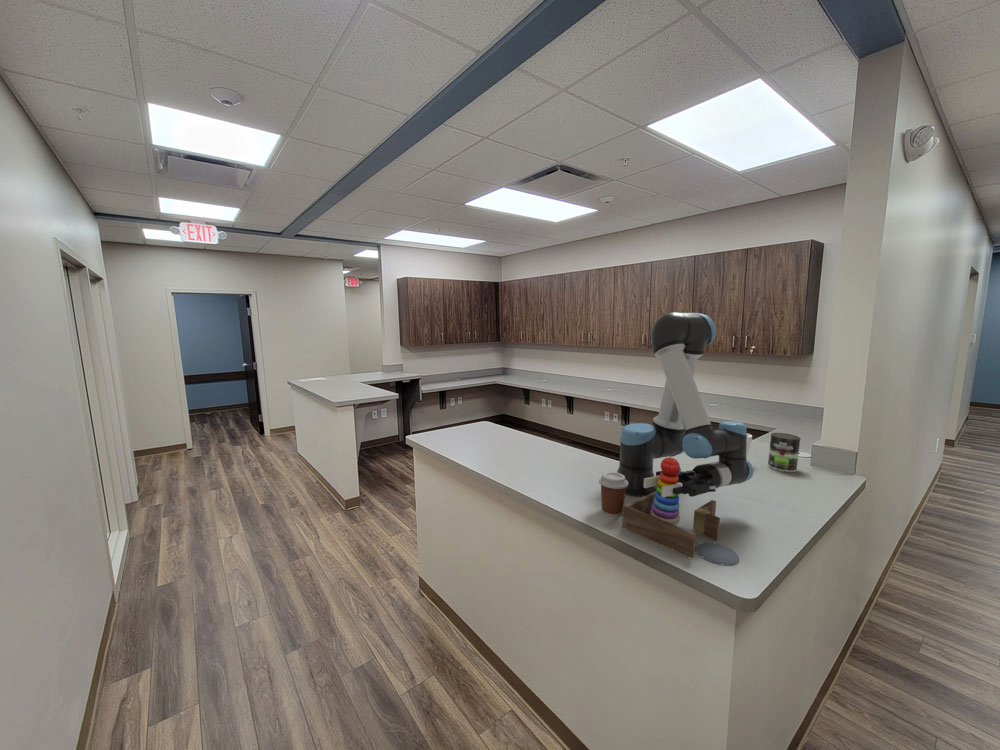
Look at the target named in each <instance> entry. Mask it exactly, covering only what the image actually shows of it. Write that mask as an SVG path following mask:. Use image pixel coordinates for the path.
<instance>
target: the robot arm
mask: <svg viewBox="0 0 1000 750" xmlns="http://www.w3.org/2000/svg"><path fill="white" fill-rule="evenodd" d="M716 335H717V328H716V324H715V323H714V322H713V319H712V318H711V317H710V316H709V315H706V314H704V313H697V312H673V311H670V312H668V313H664V314H663V315H661V316H660V317H658V319H656V320H655V322H654V324H653V326H652V328H651V332H650V344H651V348H652V351H653V354H654V357H655V358H658V359H659V361H660V364H661V366H662V369H663V372H664V376H665V381H664V382H665V383H664V386H663V392H662V396H661V397H662V398H661V402H660V407H659V411H658V415H656V416H655V417H653V419H652V421H651V422H652V424H650V423H643V422H640V423H638V422H636V423H629V424H627V425H625V426H624V427H622V429H621V431H620V432H621V434H620V439H619V440H620V447H619V448H620V449H619V464H618V465H619V466H618V468H617V471H616V473H620V474H622V475H624V476H625V479H626V480H627V481H628V483H629V485H628V487H626V491H625V495H629V496H634V497H644V496H646V495H648V494H650V493H652V492H655V491H657V490H656V488H657V486H658V480H659V479H660V474H661V473H662V472H663V471H662V470H660V471H656V472H655V473H654V460H655V459H662V458H669V457H670V458H673V457H676V456H677V455H681V454H683V453H685V455H686V456H688V457H689V458H691V459H708V458H712V457H716V456H718V461H714V462H708V463H702V464H698V465H696V466H694V468H693V469H692V470H686V471H684V470H683V471H682V470H681V467H680V470H679V472H678V473H677V474H676V475H677V476H678V478H679V479H678V482H677V483H678V484H674V485H669V486H664V487H662V493H661V496H662V497H667V496H672V495H678V496H679V495H680V494H682V495H688V496H689V497H690V498H692V497H697V496H699V495H703V494H706V493H713V492H716V491H717V490H716V489H718V488H722V487H726V486H731V485H736V484H742V483H746V482H748V481H749V480H751V479H752V478H753V476H754V468H753V465H752V463H751V461H749V460H748V459H747V460H746V448H747V434H748V433H747V432H748V431H747V425H746V424H745V423H743V422H740V421H729V420H727V421H726V420H725V421H721V422H720V423H719V424H718V429H717V430H716V429H715V430H714V429H713V426H712V423H711V421H710V419H709V416H708V413H707V411H706V408H705V405H704V403H703V399H702V397H701V394H700V391H699V389H698V386H697V384H696V382H695V381H696V380H695V378H694V375H695V371H696V366H697V362H698V360H699V358H700V357H703V356H704V355H705V349H706V347H708V346H709V345H710V344H712V343H714V341H715V338H716Z"/></svg>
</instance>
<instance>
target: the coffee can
mask: <svg viewBox="0 0 1000 750" xmlns="http://www.w3.org/2000/svg"><path fill="white" fill-rule="evenodd" d="M801 439H802V438H801V437H800V436H798V435H794V434H790V433H784V432H772V433H771V434H770V441H769V442H770V443H769V450H768V461H767V467H768V468H769V469H773V470H775V471H780V472H784V471H786V473H795V471H796V472H797V470H798V459H799V453H800V451H799V450H800V444H801V443H800V442H801Z"/></svg>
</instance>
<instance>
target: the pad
mask: <svg viewBox="0 0 1000 750" xmlns="http://www.w3.org/2000/svg"><path fill="white" fill-rule="evenodd" d="M695 550H696V551H695V552H696V553H697V552H698V553H697V554H698V556H699V557H701V556H702V557H701V558H703V557H704V558H705V559H704V558H703V559H704V560H706V559H707V560H706V561H708V560H709V561H708V562H710V561H711V562H710V563H713V562H714V564H716V563H717V565H720V564H724V565H723V566H734V565H733V564H735V565H737V564H738V563H739V562H740V555H738V553H737V552H736V551H734V549H732V548H730V547H728V546H725V544H724V545H723V544H720V543H716V542H709V541H706V542H705V541H703V542H700V543H698V544H697V545H695ZM736 563H737V564H736Z"/></svg>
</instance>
